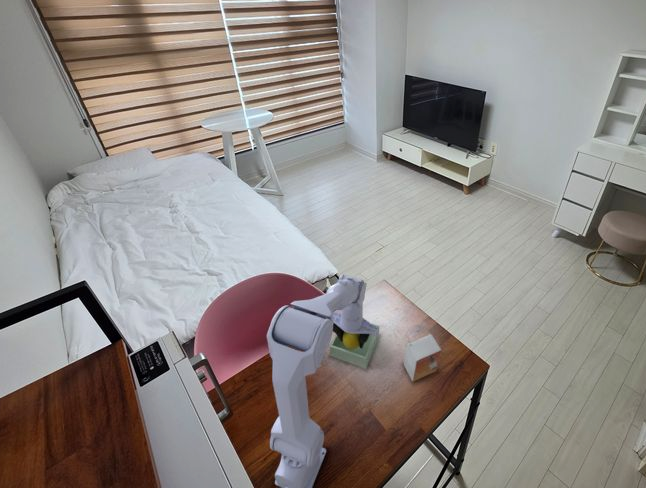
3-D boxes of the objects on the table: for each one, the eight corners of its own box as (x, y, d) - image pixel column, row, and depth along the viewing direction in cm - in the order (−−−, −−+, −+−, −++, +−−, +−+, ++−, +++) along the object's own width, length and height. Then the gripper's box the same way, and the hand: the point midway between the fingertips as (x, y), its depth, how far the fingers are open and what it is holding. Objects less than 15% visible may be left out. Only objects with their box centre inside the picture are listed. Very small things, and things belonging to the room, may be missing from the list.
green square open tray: (366, 368, 93) (366, 359, 90) (330, 356, 96) (329, 346, 93) (378, 335, 102) (379, 326, 99) (345, 324, 105) (345, 315, 102)
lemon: (365, 345, 96) (366, 328, 92) (352, 358, 93) (352, 341, 88) (352, 333, 99) (352, 317, 95) (339, 346, 96) (338, 329, 91)
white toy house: (412, 382, 91) (416, 361, 85) (403, 364, 95) (405, 343, 89) (437, 371, 93) (442, 350, 87) (426, 354, 98) (431, 333, 92)
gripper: (382, 308, 88) (380, 338, 96) (333, 293, 92) (335, 323, 100) (373, 329, 83) (372, 359, 91) (322, 312, 87) (325, 342, 94)
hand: (352, 341), depth 95 cm, fingers closed on lemon, 5 cm apart
